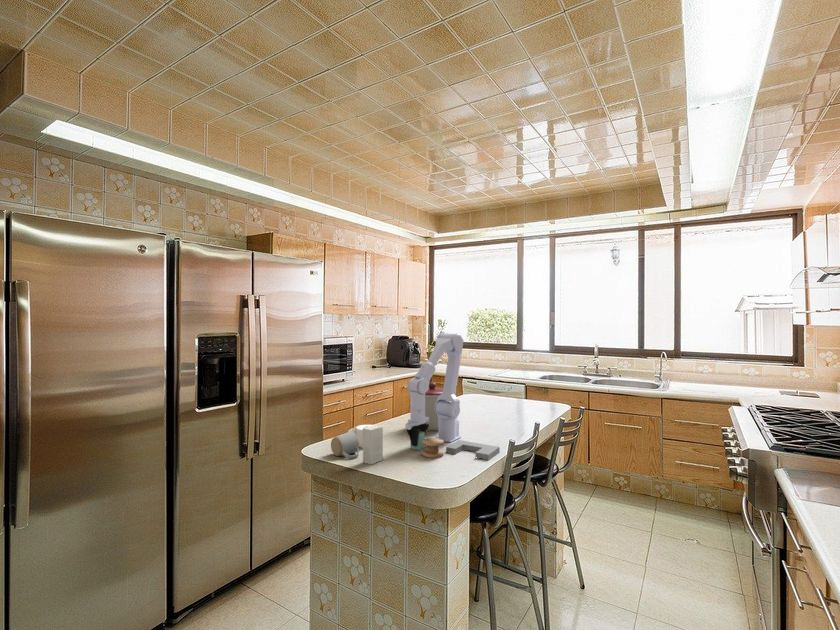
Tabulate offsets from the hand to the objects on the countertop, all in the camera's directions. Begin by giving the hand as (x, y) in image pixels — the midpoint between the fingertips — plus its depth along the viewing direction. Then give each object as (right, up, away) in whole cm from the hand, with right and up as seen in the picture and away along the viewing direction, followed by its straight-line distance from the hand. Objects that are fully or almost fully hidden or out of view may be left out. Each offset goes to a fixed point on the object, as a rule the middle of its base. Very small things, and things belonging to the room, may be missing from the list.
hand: (417, 444), depth 168 cm
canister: (+6, -2, +30) cm, 31 cm away
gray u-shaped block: (+21, -2, -5) cm, 22 cm away
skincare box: (-16, -1, -16) cm, 23 cm away
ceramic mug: (-26, -2, -9) cm, 27 cm away
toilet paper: (-22, -2, +4) cm, 23 cm away
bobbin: (+6, -1, -8) cm, 10 cm away
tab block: (0, -1, 0) cm, 1 cm away
